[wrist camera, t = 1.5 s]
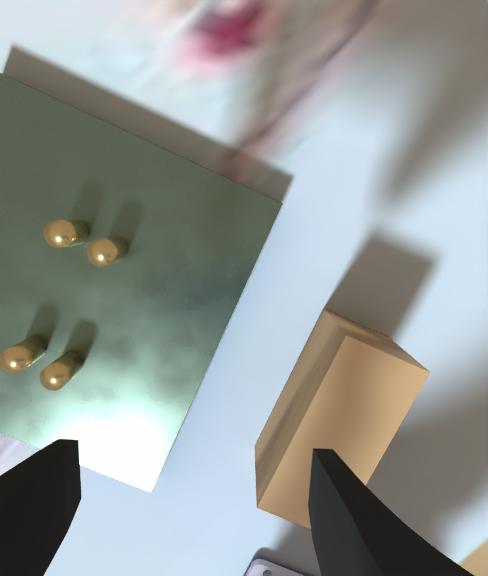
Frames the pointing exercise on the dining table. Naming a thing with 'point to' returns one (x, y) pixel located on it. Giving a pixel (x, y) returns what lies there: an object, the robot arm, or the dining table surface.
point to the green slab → (111, 282)
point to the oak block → (333, 411)
